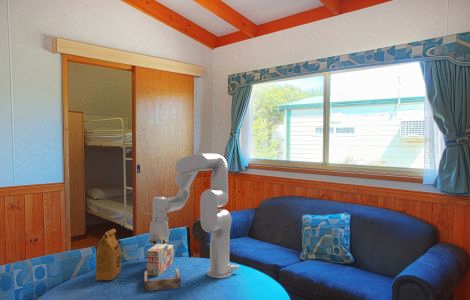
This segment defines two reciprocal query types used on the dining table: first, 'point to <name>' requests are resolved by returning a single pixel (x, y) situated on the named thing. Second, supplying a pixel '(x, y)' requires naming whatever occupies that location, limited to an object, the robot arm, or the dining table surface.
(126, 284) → the dining table surface
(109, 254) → the coffee package
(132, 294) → the dining table surface
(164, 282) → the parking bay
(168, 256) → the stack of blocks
